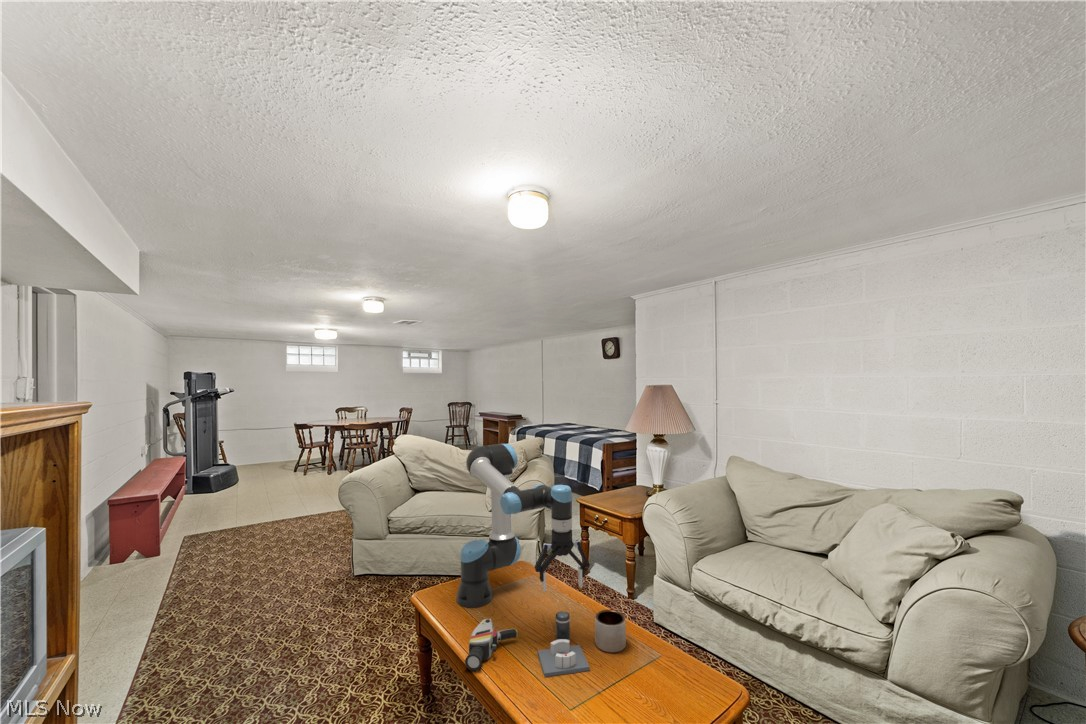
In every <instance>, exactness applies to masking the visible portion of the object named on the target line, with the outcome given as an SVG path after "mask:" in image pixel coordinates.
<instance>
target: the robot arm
mask: <svg viewBox="0 0 1086 724" xmlns="http://www.w3.org/2000/svg"><path fill="white" fill-rule="evenodd" d="M465 463H466V468H467V471H468V473H469V474H470V475H471V476H472V477H473V478H475V479H479V481H481V482H482V483H483V484H484V485H485V486H486V487H487V488H488V489H489V490H490V496H491V497H490V499H491V503H490V505H491V506H490V507H491V528H492V529H491V530H492V531H491V533H490V534H489V536H488V540H485V539H474V540H471V541H467V542H466V543H465V544H464V545H463V546H462V547H461V551H460V558H459V559H460V583H459V587H458V590H457V592H456V602H457V603H458V605H460V606H461V607H465V608H478V607H483V606H486V605H488V604H489V603H491V601H492V600H493V591H492V587H491V584H490V580H489V572H491V571H494V570H497V569H502V568H506V567H510V566H512V565H514V564H516V563H517V562H518V561H519V559H520V557H521V544H520V540H519V539H518V537H517V536H515V535H516V534H515V533H514V531H512V515H515V514H516V515H517V514H519V513H523V512H528V511H533V510H537V509H541V508H546V509H548V510H551V542H550V543H547V542H543V544H542V549H541V551H540V554H539V556H538V558H537V561H536V563H535V565H534V567H533V568H534V570H535V572H538V573H539V580H540V583H541V582H542V583H541V584H542V590H543V592H544V593H545V592H547V572H546V570H547V569H548V567H549V566H550V565H551V563H552V562H553V560H554V559H555V558H557V557H562V556H564V557H566V556H568V555H570V556H571V557H572V558H573V560H574V561H575V562H576V563H577V564H578V565H579V566H578V567H577V572H578V573H577V575H578V577H577V578H578V582H577V583H578V586H579V588H580V589H582V588H583V578H585V576H586V574H585V573H586V568H588V567H590V566H591V565H590V563H589V560H588V558H587V556H586V554H585V552H584V551H583V548H582V543H581V541H580V540H579V539H576V540H575V541H573V529H572V528H573V516H572V515H573V507H572V506H573V494H572V488H571V487H570V486H569V485H566V484H565V485H564V484H555V485H553V486H548V485H546V484H543V483H542V484H541V483H539V484H536V485H535V486H533V487H532V488H529V489H523V490H522V489H519V488H518V487H517V486H516V485H515V484H514V483H513V482H512V481H510V477H512V476H513V470H514V469H515V468H516V467H517V466H518V455H517V452H516V449H515V448H514V447H513V446H512V445H511V444H509V443H498V444H497V443H496V444H488V445H480V446H477V447H475V448H473V449H472V450H471V451H470V452H469V454H468V456H467V457H466V461H465ZM574 547H575V548H576V549H577V551H578V552H579V555H580V556H581V558H582V560H583V562H582V561H581V559H579V557H578V556H577V555H576V554H575V553H574V551H573V550H572V549H573V548H574ZM550 549H551V551H550V552H549V555H548V556H547V553H548V551H549V550H550ZM546 556H547V557H546ZM545 557H546V559H545Z"/></svg>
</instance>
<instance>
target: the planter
mask: <svg viewBox="0 0 1086 724" xmlns="http://www.w3.org/2000/svg"><path fill="white" fill-rule="evenodd" d="M594 620H595V621H594V624H595V625H594V627H595V629H594V641H595V645H596V647H597V648H598V649H599V650H601V651H603V652H606V653H612V654H615V653H619V652H621V651H623V650H624V649H625V648H626V645H627V635H626V616H625V615H624V614H623V613H622V612H620V611H618V610H614V609H602V610H600V611H597V613H596V614H595V617H594Z"/></svg>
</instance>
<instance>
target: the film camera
mask: <svg viewBox="0 0 1086 724" xmlns="http://www.w3.org/2000/svg"><path fill="white" fill-rule="evenodd" d="M517 637H518V630H517V628H509V629H502V630H497V629H495V628H494V625H493V620H492V618H485V619H482V620H480V622H479V623H478V624H477V625H476V626H475V628H474V629H473V630H472V632H471V635H470V637H469V641H468V655H467V656H466V658H465V660H464V664H465V667H466V668H467V669H468V670H469V671H472V672H477V671H479V670H480V669H481V667H482V665H483V664H482V662H484V661H487V660H488V659H490V658H491V657H492V654H493V653H495V652H496V651H497V647H498V643H499V642H501V641H504V640H509V639H514V638H517Z"/></svg>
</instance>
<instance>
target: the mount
mask: <svg viewBox="0 0 1086 724" xmlns="http://www.w3.org/2000/svg"><path fill="white" fill-rule="evenodd" d="M570 643H571V639H570V640H566V639H558V640H556V639H555V640H553V641H551V642H550V648H547V649H540V650H537V656H538V657H537V658H538V659H539V663H540V666H541V670H542V673H543V676H544V678H547V677H548V678H549V677H554V676H555V677H556V676H561V675H562V676H563V675H570V674H576V673H583V672H589V671H591V670H590V669H591V666H590V665H589V663H588V660H587V658H586V656H585V653H584V652H583V649H582V647H581V645H580V644H577V645H571V644H570Z"/></svg>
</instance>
